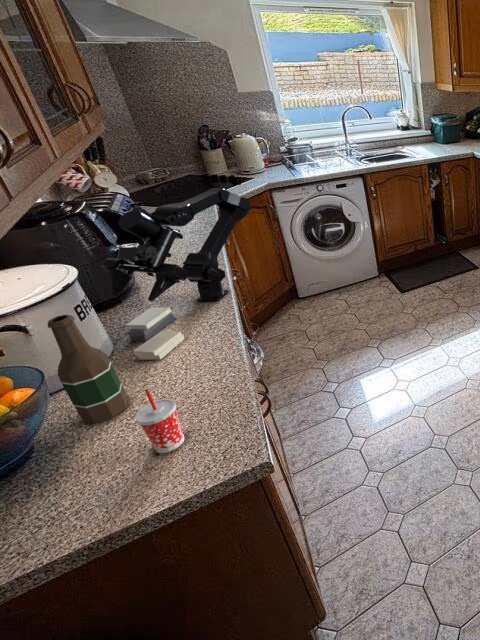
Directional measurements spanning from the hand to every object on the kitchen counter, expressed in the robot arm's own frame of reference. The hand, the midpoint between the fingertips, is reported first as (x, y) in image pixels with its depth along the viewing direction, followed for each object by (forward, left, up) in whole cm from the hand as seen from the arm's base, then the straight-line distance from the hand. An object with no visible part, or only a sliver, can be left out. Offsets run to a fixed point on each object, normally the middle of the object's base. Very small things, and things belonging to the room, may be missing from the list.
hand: (132, 299), depth 108 cm
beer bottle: (+26, +11, -13) cm, 31 cm away
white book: (-5, -2, -10) cm, 11 cm away
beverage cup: (+35, +31, -13) cm, 49 cm away
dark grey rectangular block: (-5, -2, -13) cm, 14 cm away
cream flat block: (+4, +7, -13) cm, 15 cm away
